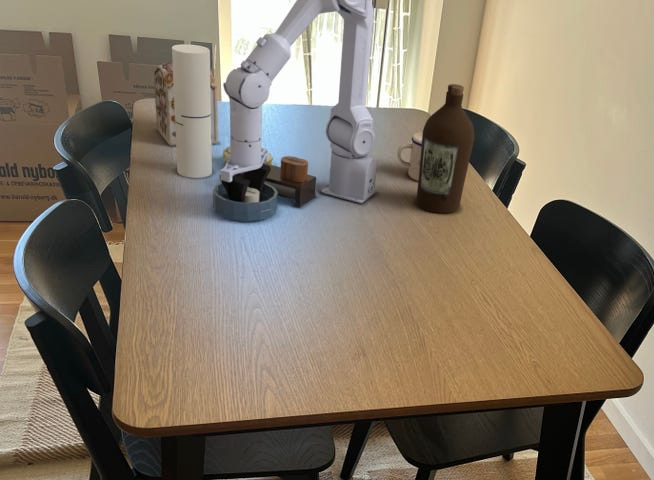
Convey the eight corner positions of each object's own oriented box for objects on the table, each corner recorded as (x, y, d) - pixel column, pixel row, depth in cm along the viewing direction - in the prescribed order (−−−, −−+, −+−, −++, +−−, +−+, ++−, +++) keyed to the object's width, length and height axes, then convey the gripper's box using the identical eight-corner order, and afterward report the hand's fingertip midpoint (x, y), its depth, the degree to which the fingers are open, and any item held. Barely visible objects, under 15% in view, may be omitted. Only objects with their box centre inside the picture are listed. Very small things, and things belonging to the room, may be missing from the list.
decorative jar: (156, 130, 180) (151, 50, 170) (204, 128, 185) (202, 51, 175) (168, 147, 171) (164, 64, 161) (219, 144, 176) (217, 64, 166)
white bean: (262, 208, 148) (263, 190, 146) (252, 214, 145) (252, 196, 143) (238, 201, 150) (238, 183, 148) (227, 207, 146) (227, 189, 144)
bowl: (287, 207, 151) (288, 189, 149) (256, 228, 141) (257, 209, 139) (235, 193, 154) (234, 174, 152) (201, 212, 144) (200, 193, 142)
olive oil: (423, 191, 167) (440, 75, 154) (468, 203, 165) (489, 86, 151) (405, 206, 159) (421, 85, 145) (452, 219, 156) (472, 97, 142)
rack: (315, 197, 157) (316, 176, 155) (299, 208, 152) (300, 186, 149) (248, 179, 161) (248, 158, 159) (230, 188, 156) (230, 168, 153)
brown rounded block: (310, 178, 154) (311, 160, 152) (301, 183, 151) (302, 166, 149) (286, 171, 155) (286, 154, 153) (276, 177, 152) (277, 159, 150)
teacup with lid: (442, 171, 180) (449, 122, 173) (448, 185, 172) (456, 135, 166) (392, 167, 178) (398, 118, 171) (397, 181, 170) (403, 130, 164)
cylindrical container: (203, 180, 158) (200, 55, 144) (171, 173, 158) (165, 49, 145) (217, 169, 164) (215, 48, 150) (186, 163, 164) (181, 42, 150)
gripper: (247, 123, 146) (246, 189, 154) (205, 142, 135) (207, 212, 142) (279, 131, 145) (277, 198, 152) (239, 151, 133) (239, 222, 141)
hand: (245, 205), depth 147 cm, fingers open, 5 cm apart
